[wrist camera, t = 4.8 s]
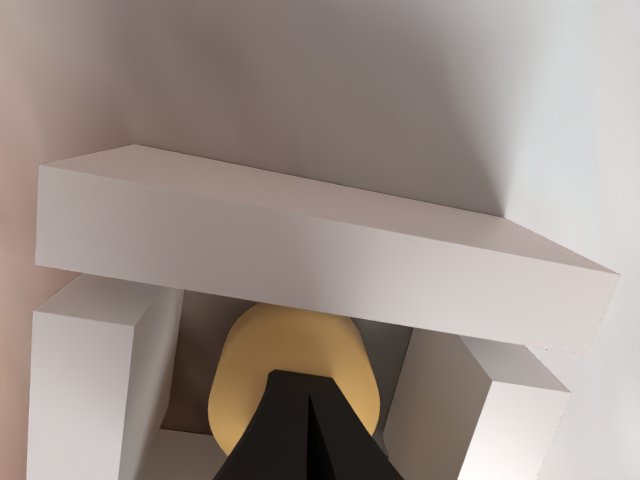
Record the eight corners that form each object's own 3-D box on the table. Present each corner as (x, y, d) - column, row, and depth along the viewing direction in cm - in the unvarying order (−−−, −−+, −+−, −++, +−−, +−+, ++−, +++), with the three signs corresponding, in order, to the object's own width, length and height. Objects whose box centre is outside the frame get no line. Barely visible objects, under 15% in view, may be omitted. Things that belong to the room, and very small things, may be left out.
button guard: (104, 467, 12) (20, 628, 8) (135, 144, 10) (38, 164, 6) (412, 502, 13) (461, 660, 10) (505, 218, 11) (620, 275, 7)
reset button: (212, 410, 11) (196, 470, 10) (234, 282, 10) (221, 320, 9) (347, 427, 12) (358, 489, 10) (379, 307, 11) (398, 348, 9)
